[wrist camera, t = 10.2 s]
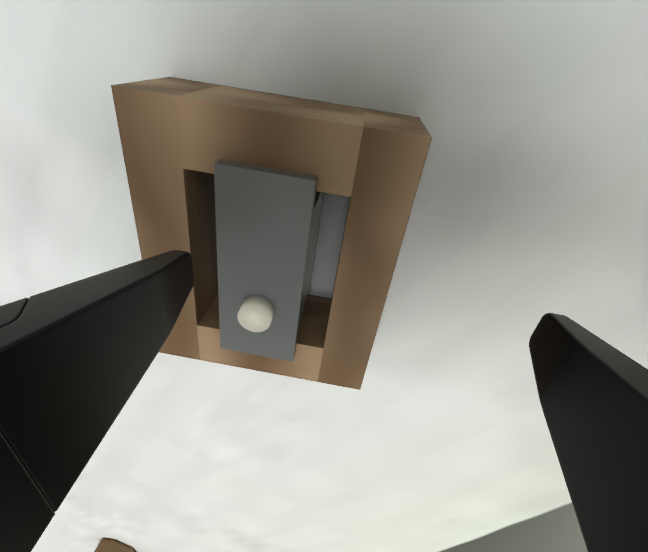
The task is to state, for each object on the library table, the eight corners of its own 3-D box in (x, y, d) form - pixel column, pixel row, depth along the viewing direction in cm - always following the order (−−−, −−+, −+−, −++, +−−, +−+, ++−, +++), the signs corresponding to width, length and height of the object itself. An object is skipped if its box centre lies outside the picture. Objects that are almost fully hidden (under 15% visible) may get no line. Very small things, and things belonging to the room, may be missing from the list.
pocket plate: (418, 117, 17) (431, 138, 13) (362, 336, 24) (359, 389, 21) (169, 77, 17) (111, 85, 13) (191, 305, 25) (158, 352, 21)
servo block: (329, 150, 18) (312, 188, 13) (307, 307, 23) (289, 373, 18) (250, 137, 18) (205, 169, 13) (247, 296, 23) (214, 359, 19)
